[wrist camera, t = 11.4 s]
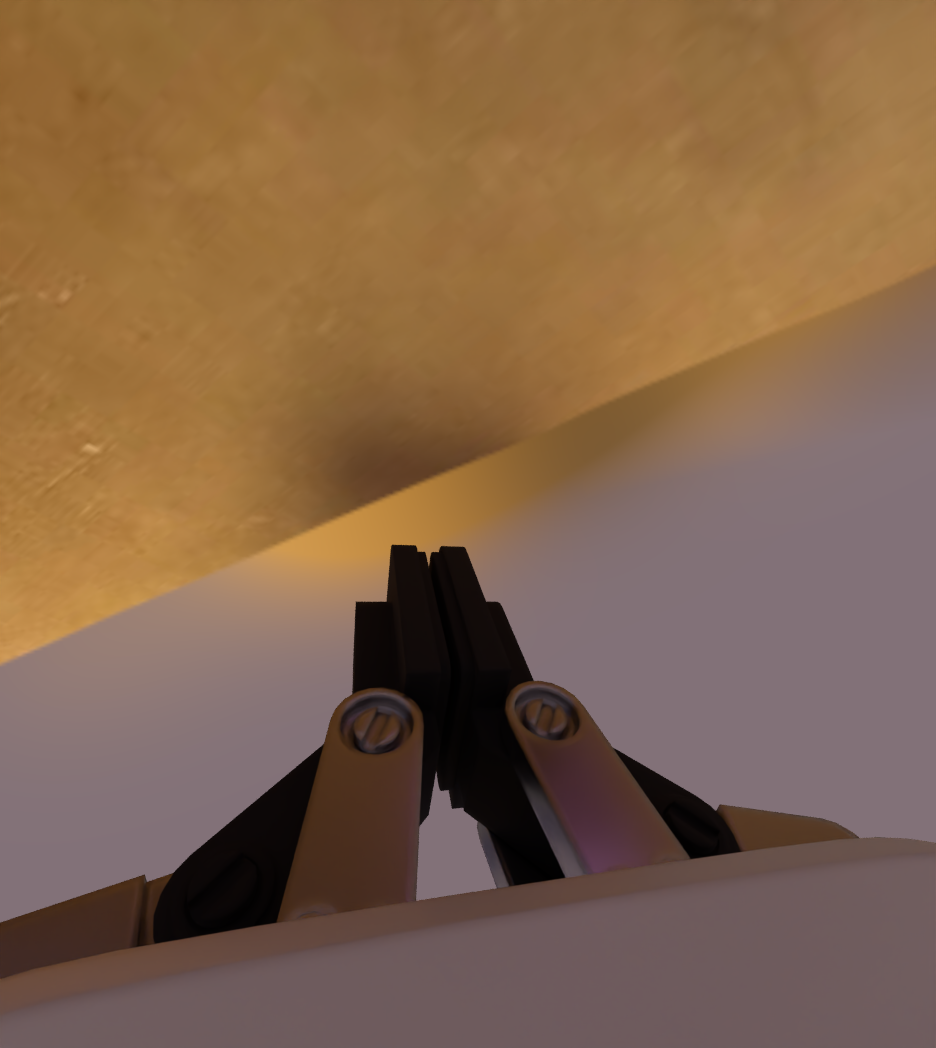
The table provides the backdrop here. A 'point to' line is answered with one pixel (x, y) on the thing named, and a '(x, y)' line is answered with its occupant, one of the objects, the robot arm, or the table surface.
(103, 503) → the table surface
